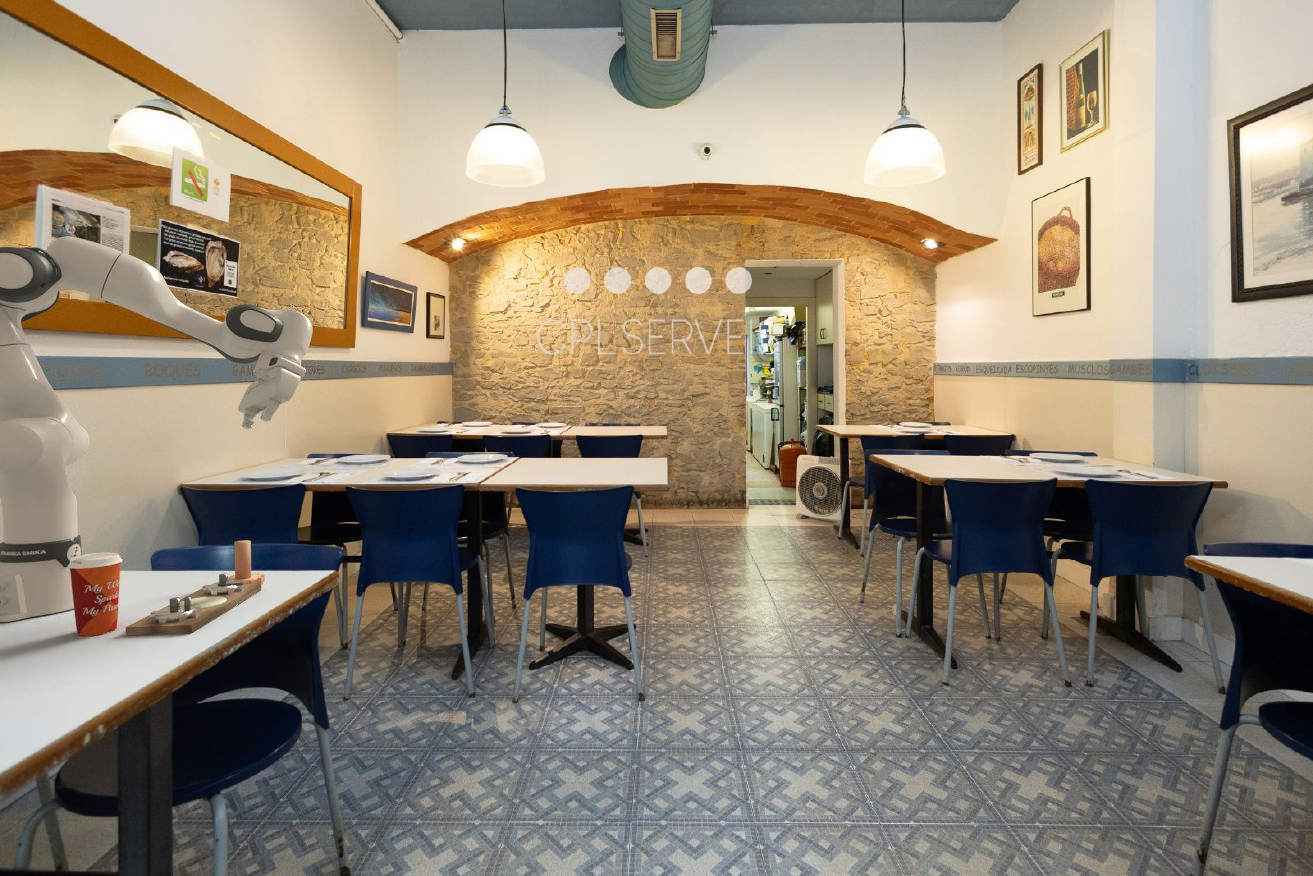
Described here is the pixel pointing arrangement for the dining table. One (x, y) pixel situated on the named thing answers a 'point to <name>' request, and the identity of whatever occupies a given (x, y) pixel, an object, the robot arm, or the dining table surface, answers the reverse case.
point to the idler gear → (244, 564)
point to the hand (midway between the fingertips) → (255, 424)
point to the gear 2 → (223, 586)
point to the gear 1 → (175, 612)
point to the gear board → (208, 612)
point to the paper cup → (95, 592)
